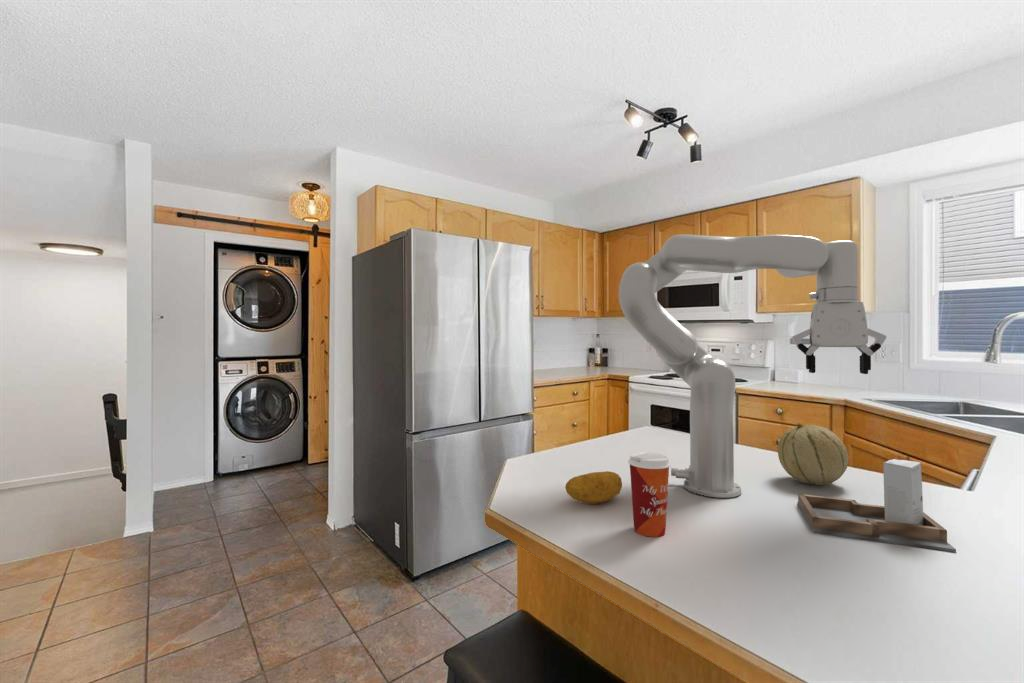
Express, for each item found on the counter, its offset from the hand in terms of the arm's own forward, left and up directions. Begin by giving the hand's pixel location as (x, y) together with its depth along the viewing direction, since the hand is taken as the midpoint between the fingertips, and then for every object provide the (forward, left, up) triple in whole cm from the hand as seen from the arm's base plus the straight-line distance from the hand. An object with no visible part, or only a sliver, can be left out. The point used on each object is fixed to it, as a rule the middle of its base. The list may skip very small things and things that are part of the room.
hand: (837, 373), depth 100 cm
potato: (-50, -23, -29) cm, 62 cm away
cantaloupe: (-3, +11, -28) cm, 31 cm away
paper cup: (-37, -34, -28) cm, 58 cm away
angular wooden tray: (+1, -15, -28) cm, 32 cm away
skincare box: (+7, -15, -28) cm, 32 cm away
